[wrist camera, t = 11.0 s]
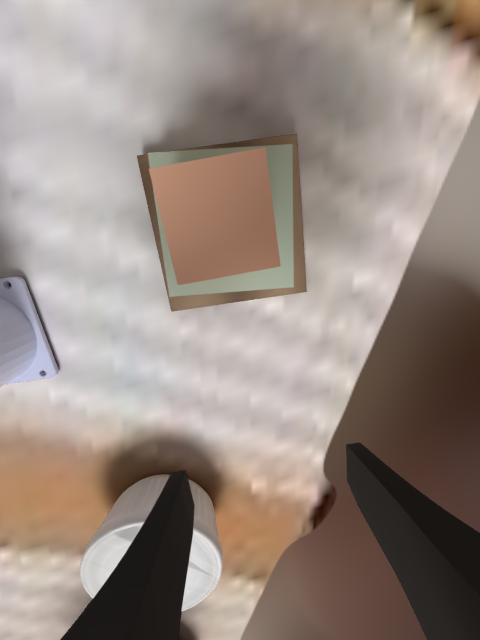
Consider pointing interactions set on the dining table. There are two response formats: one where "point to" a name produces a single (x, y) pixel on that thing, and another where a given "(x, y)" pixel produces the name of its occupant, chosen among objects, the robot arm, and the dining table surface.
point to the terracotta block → (217, 215)
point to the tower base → (298, 242)
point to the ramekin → (129, 520)
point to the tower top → (283, 214)
